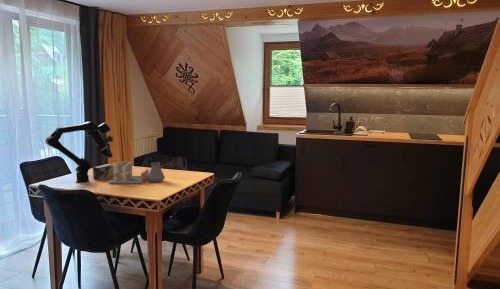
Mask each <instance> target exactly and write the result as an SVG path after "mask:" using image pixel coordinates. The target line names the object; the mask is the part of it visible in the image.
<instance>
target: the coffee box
mask: <svg viewBox="0 0 500 289" xmlns="http://www.w3.org/2000/svg"><path fill="white" fill-rule="evenodd" d="M114 164H115V163H108V164H103V165H97V166H93V167H92V174H93V175H92V176H93V180H95V181H103V180H107V179H113V165H114Z"/></svg>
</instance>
